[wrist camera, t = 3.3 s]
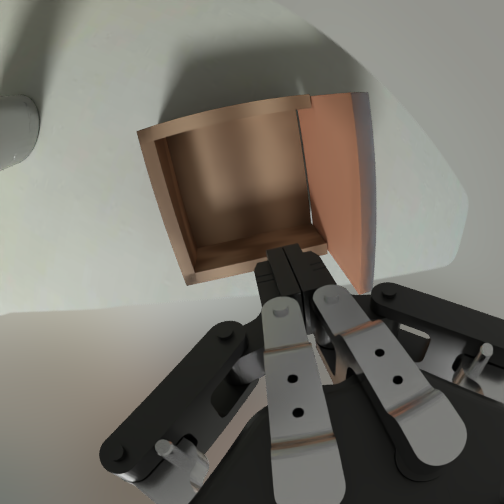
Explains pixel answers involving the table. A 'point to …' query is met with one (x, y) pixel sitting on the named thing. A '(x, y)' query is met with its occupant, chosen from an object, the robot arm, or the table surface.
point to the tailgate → (343, 180)
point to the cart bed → (231, 186)
